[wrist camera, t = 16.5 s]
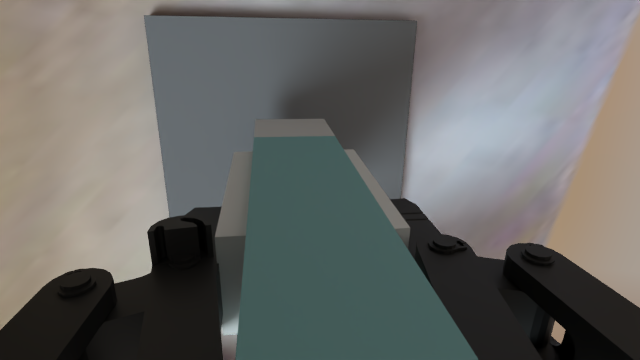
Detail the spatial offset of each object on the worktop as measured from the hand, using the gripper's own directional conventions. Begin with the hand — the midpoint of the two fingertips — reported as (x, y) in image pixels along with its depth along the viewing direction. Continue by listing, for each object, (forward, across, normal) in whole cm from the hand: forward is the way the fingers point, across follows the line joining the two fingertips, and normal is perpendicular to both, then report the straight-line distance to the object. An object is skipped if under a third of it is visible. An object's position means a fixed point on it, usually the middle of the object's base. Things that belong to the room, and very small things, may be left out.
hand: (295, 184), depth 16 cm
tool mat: (+6, 0, 0) cm, 6 cm away
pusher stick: (+3, 0, 0) cm, 3 cm away
